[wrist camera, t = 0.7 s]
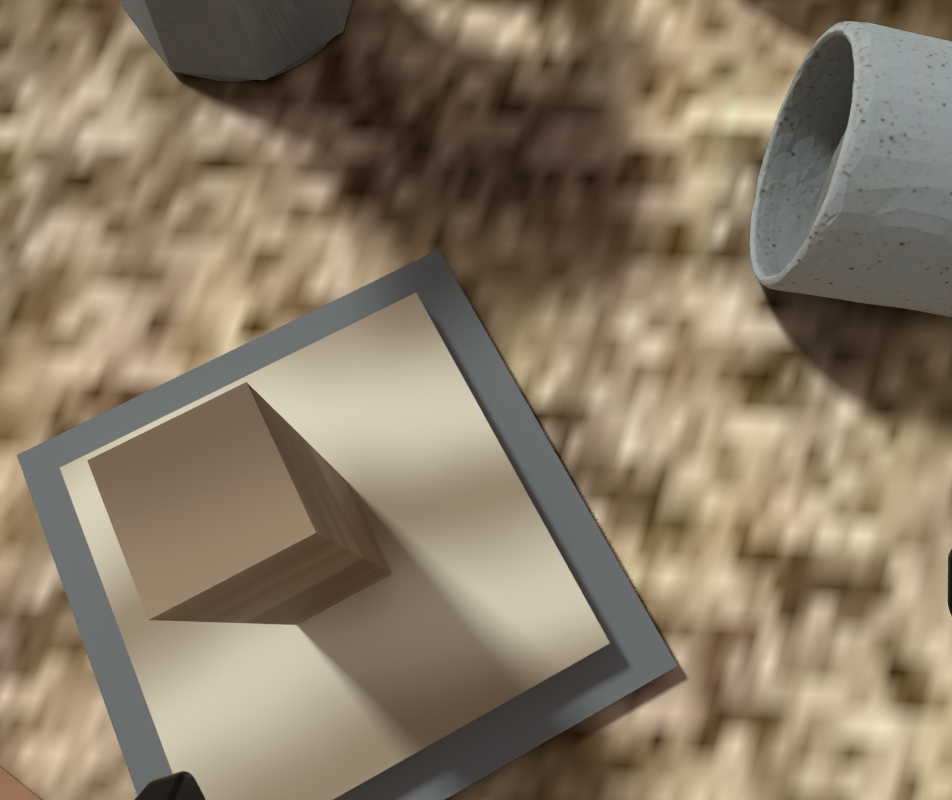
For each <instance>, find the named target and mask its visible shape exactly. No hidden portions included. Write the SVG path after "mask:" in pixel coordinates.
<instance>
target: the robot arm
mask: <svg viewBox="0 0 952 800" xmlns="http://www.w3.org/2000/svg"><path fill="white" fill-rule="evenodd" d="M948 606H949V610H950V613H951V615H952V549H951V551H950V553H949V557H948ZM135 800H206V799H205V797H204V795H203V793H202V791H201V789H200V787H199V785H198V783H197V781H196V779H195V778H194V777H193V775H192V774H191V773H189V772H187V771H181V772H177V773H174V774H170V775H167V776H164V777H160V778H157V779H155V780H152V781H151V782H149V783H148V784H147V785H146V786H145V787H144V789H143V790H142V791H141V792H140V794H139V795H138V796H137V797H136V799H135Z"/></svg>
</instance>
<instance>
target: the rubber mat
mask: <svg viewBox="0 0 952 800" xmlns="http://www.w3.org/2000/svg"><path fill="white" fill-rule="evenodd" d="M414 293H417V295H418V297H419V299H420V300H421V302H422V304H423V306H424V308H425V309H426V311H427V313H428V315H429V317H430V318H431V320H432V322H433V324H434V326H435V328H436V329H437V331H438V333H439V335H440V337H441V338H442V340H443V342H444V344H445V346H446V347H447V349H448V351H449V353H450V355H451V356H452V358H453V360H454V362H455V364H456V366H457V367H458V369H459V371H460V373H461V375H462V376H463V378H464V380H465V382H466V384H467V385H468V387H469V389H470V391H471V393H472V394H473V396H474V398H475V400H476V402H477V403H478V405H479V407H480V409H481V411H482V413H483V414H484V416H485V418H486V420H487V422H488V423H489V425H490V427H491V429H492V431H493V432H494V434H495V436H496V438H497V440H498V441H499V443H500V445H501V447H502V449H503V451H504V452H505V454H506V456H507V458H508V460H509V461H510V463H511V465H512V467H513V469H514V470H515V472H516V474H517V476H518V478H519V479H520V481H521V483H522V485H523V487H524V489H525V490H526V492H527V494H528V496H529V498H530V499H531V501H532V503H533V505H534V507H535V508H536V510H537V512H538V514H539V516H540V517H541V519H542V521H543V523H544V525H545V526H546V528H547V530H548V532H549V534H550V536H551V537H552V539H553V541H554V543H555V545H556V546H557V548H558V550H559V552H560V554H561V555H562V557H563V559H564V561H565V563H566V564H567V566H568V568H569V570H570V572H571V574H572V575H573V577H574V579H575V581H576V583H577V584H578V586H579V588H580V590H581V592H582V593H583V595H584V597H585V599H586V601H587V602H588V604H589V606H590V608H591V610H592V612H593V613H594V615H595V617H596V619H597V621H598V622H599V624H600V626H601V628H602V630H603V631H604V633H605V635H606V637H607V639H608V640H609V642H610V643H609V644H608V645H606V646H604V647H602V648H601V649H599V650H597V651H595V652H594V653H592V654H590V655H588V656H586V657H585V658H583V659H581V660H579V661H578V662H576V663H574V664H572V665H571V666H569V667H567V668H565V669H563V670H562V671H560V672H558V673H556V674H555V675H553V676H551V677H549V678H548V679H546V680H544V681H542V682H540V683H539V684H537V685H535V686H533V687H532V688H530V689H528V690H526V691H525V692H523V693H521V694H519V695H517V696H516V697H514V698H512V699H510V700H509V701H507V702H505V703H503V704H502V705H500V706H498V707H496V708H494V709H493V710H491V711H489V712H487V713H486V714H484V715H482V716H480V717H478V718H477V719H475V720H473V721H471V722H470V723H468V724H466V725H464V726H463V727H461V728H459V729H457V730H455V731H454V732H452V733H450V734H448V735H447V736H445V737H443V738H441V739H440V740H438V741H436V742H434V743H432V744H431V745H429V746H427V747H425V748H424V749H422V750H420V751H418V752H417V753H415V754H413V755H411V756H409V757H408V758H406V759H404V760H402V761H401V762H399V763H397V764H395V765H394V766H392V767H390V768H388V769H386V770H385V771H383V772H381V773H379V774H378V775H376V776H374V777H372V778H371V779H369V780H367V781H365V782H363V783H362V784H360V785H358V786H356V787H355V788H353V789H351V790H349V791H348V792H346V793H344V794H342V795H340V796H339V797H337V798H335V799H333V800H445V799H447V798H449V797H451V796H452V795H454V794H456V793H457V792H459V791H461V790H463V789H464V788H466V787H468V786H470V785H471V784H473V783H475V782H477V781H478V780H480V779H482V778H484V777H485V776H487V775H489V774H491V773H492V772H494V771H496V770H497V769H499V768H501V767H503V766H504V765H506V764H508V763H510V762H511V761H513V760H515V759H517V758H518V757H520V756H522V755H524V754H525V753H527V752H529V751H530V750H532V749H534V748H536V747H537V746H539V745H541V744H543V743H544V742H546V741H548V740H550V739H551V738H553V737H555V736H557V735H558V734H560V733H562V732H564V731H565V730H567V729H569V728H570V727H572V726H574V725H576V724H577V723H579V722H581V721H583V720H584V719H586V718H588V717H590V716H591V715H593V714H595V713H597V712H598V711H600V710H602V709H604V708H605V707H607V706H609V705H610V704H612V703H614V702H616V701H617V700H619V699H621V698H623V697H624V696H626V695H628V694H630V693H631V692H633V691H635V690H637V689H638V688H640V687H642V686H644V685H645V684H647V683H649V682H650V681H652V680H654V679H656V678H657V677H659V676H661V675H663V674H664V673H666V672H668V671H670V670H671V669H673V668H675V667H677V666H678V665H677V664H676V662H675V660H674V658H673V657H672V655H671V653H670V651H669V650H668V648H667V646H666V644H665V643H664V641H663V639H662V637H661V636H660V634H659V632H658V631H657V629H656V627H655V625H654V624H653V622H652V620H651V618H650V617H649V615H648V613H647V611H646V610H645V608H644V606H643V604H642V603H641V601H640V599H639V597H638V596H637V594H636V592H635V590H634V589H633V587H632V585H631V583H630V582H629V580H628V578H627V576H626V575H625V573H624V571H623V569H622V568H621V566H620V564H619V563H618V561H617V559H616V557H615V556H614V554H613V552H612V550H611V549H610V547H609V545H608V543H607V542H606V540H605V538H604V536H603V535H602V533H601V531H600V529H599V528H598V526H597V524H596V522H595V521H594V519H593V517H592V515H591V514H590V512H589V510H588V508H587V507H586V505H585V503H584V501H583V500H582V498H581V496H580V495H579V493H578V491H577V489H576V488H575V486H574V484H573V482H572V481H571V479H570V477H569V475H568V474H567V472H566V470H565V468H564V467H563V465H562V463H561V461H560V460H559V458H558V456H557V454H556V453H555V451H554V449H553V447H552V446H551V444H550V442H549V440H548V439H547V437H546V435H545V433H544V432H543V430H542V428H541V427H540V425H539V423H538V421H537V420H536V418H535V416H534V414H533V413H532V411H531V409H530V407H529V406H528V404H527V402H526V400H525V399H524V397H523V395H522V393H521V392H520V390H519V388H518V386H517V385H516V383H515V381H514V379H513V378H512V376H511V374H510V372H509V371H508V369H507V367H506V365H505V364H504V362H503V360H502V358H501V357H500V355H499V353H498V352H497V350H496V348H495V346H494V345H493V343H492V341H491V339H490V338H489V336H488V334H487V332H486V331H485V329H484V327H483V325H482V324H481V322H480V320H479V318H478V317H477V315H476V313H475V311H474V310H473V308H472V306H471V304H470V303H469V301H468V299H467V297H466V296H465V294H464V292H463V290H462V289H461V287H460V285H459V284H458V282H457V280H456V278H455V277H454V275H453V273H452V271H451V270H450V268H449V266H448V264H447V263H446V261H445V259H444V257H443V256H442V254H441V252H440V250H438V251H436V252H434V253H431V254H429V255H427V256H425V257H423V258H421V259H419V260H417V261H415V262H413V263H411V264H409V265H407V266H405V267H403V268H401V269H399V270H397V271H394V272H392V273H390V274H388V275H386V276H384V277H382V278H380V279H378V280H376V281H374V282H372V283H370V284H368V285H366V286H364V287H362V288H360V289H357V290H355V291H353V292H351V293H349V294H347V295H345V296H343V297H341V298H339V299H337V300H335V301H333V302H331V303H329V304H327V305H325V306H322V307H320V308H318V309H316V310H314V311H312V312H310V313H308V314H306V315H304V316H302V317H300V318H298V319H296V320H294V321H292V322H290V323H288V324H285V325H283V326H281V327H279V328H277V329H275V330H273V331H271V332H269V333H267V334H265V335H263V336H261V337H259V338H257V339H255V340H253V341H251V342H248V343H246V344H244V345H242V346H240V347H238V348H236V349H234V350H232V351H230V352H228V353H226V354H224V355H222V356H220V357H218V358H216V359H214V360H211V361H209V362H207V363H205V364H203V365H201V366H199V367H197V368H195V369H193V370H191V371H189V372H187V373H185V374H183V375H181V376H179V377H176V378H174V379H172V380H170V381H168V382H166V383H164V384H162V385H160V386H158V387H156V388H154V389H152V390H150V391H148V392H146V393H144V394H142V395H139V396H137V397H135V398H133V399H131V400H129V401H127V402H125V403H123V404H121V405H119V406H117V407H115V408H113V409H111V410H109V411H107V412H105V413H102V414H100V415H98V416H96V417H94V418H92V419H90V420H88V421H86V422H84V423H82V424H80V425H78V426H76V427H74V428H72V429H70V430H68V431H65V432H63V433H61V434H59V435H57V436H55V437H53V438H51V439H49V440H47V441H45V442H43V443H41V444H39V445H37V446H35V447H33V448H31V449H28V450H26V451H24V452H22V453H20V454H18V455H17V457H18V459H19V462H20V465H21V468H22V471H23V474H24V476H25V479H26V482H27V485H28V488H29V491H30V493H31V496H32V499H33V502H34V505H35V507H36V510H37V513H38V516H39V519H40V522H41V524H42V527H43V530H44V533H45V536H46V538H47V541H48V544H49V547H50V550H51V553H52V555H53V558H54V561H55V564H56V567H57V570H58V572H59V575H60V578H61V581H62V584H63V586H64V589H65V592H66V595H67V598H68V601H69V603H70V606H71V609H72V612H73V615H74V617H75V620H76V623H77V626H78V629H79V632H80V634H81V637H82V640H83V643H84V646H85V649H86V651H87V654H88V657H89V660H90V663H91V665H92V668H93V671H94V674H95V677H96V680H97V682H98V685H99V688H100V691H101V694H102V697H103V699H104V702H105V705H106V708H107V711H108V713H109V716H110V719H111V722H112V725H113V728H114V730H115V733H116V736H117V739H118V742H119V744H120V747H121V750H122V753H123V756H124V759H125V761H126V764H127V767H128V770H129V773H130V776H131V778H132V781H133V784H134V787H135V790H136V792H137V795H139V794H140V792H141V791H142V790H143V789H144V787H145V786H146V785H147V784H148V783H149V782H151V781H152V780H155V779H157V778H160V777H164V776H167V775H170V774H173V773H172V770H171V768H170V765H169V762H168V760H167V757H166V754H165V751H164V749H163V746H162V743H161V741H160V738H159V735H158V733H157V730H156V727H155V724H154V722H153V719H152V716H151V714H150V711H149V708H148V705H147V703H146V700H145V697H144V695H143V692H142V689H141V687H140V684H139V681H138V678H137V676H136V673H135V670H134V668H133V665H132V662H131V659H130V657H129V654H128V651H127V649H126V646H125V643H124V641H123V638H122V635H121V632H120V630H119V627H118V624H117V622H116V619H115V616H114V614H113V611H112V608H111V605H110V603H109V600H108V597H107V595H106V592H105V589H104V586H103V584H102V581H101V578H100V576H99V573H98V570H97V568H96V565H95V562H94V559H93V557H92V554H91V551H90V549H89V546H88V543H87V541H86V538H85V535H84V532H83V530H82V527H81V524H80V522H79V519H78V516H77V513H76V511H75V508H74V505H73V503H72V500H71V497H70V495H69V492H68V489H67V486H66V484H65V481H64V478H63V476H62V473H61V470H60V467H62V466H64V465H66V464H68V463H70V462H72V461H74V460H76V459H78V458H80V457H83V456H85V455H87V454H89V453H91V452H93V451H95V450H97V449H99V448H101V447H103V446H105V445H107V444H109V443H111V442H113V441H115V440H117V439H119V438H121V437H123V436H125V435H127V434H129V433H131V432H133V431H135V430H137V429H139V428H142V427H144V426H146V425H148V424H150V423H152V422H154V421H156V420H158V419H160V418H162V417H164V416H166V415H168V414H170V413H172V412H174V411H176V410H178V409H180V408H182V407H184V406H186V405H188V404H190V403H192V402H194V401H196V400H199V399H201V398H203V397H205V396H207V395H209V394H211V393H213V392H215V391H217V390H219V389H221V388H223V387H225V386H227V385H229V384H231V383H233V382H235V381H237V380H239V379H241V378H243V377H245V376H247V375H249V374H251V373H253V372H255V371H258V370H260V369H262V368H264V367H266V366H268V365H270V364H272V363H274V362H276V361H278V360H280V359H282V358H284V357H286V356H288V355H290V354H292V353H294V352H296V351H298V350H300V349H302V348H304V347H306V346H308V345H310V344H312V343H315V342H317V341H319V340H321V339H323V338H325V337H327V336H329V335H331V334H333V333H335V332H337V331H339V330H341V329H343V328H345V327H347V326H349V325H351V324H353V323H355V322H357V321H359V320H361V319H363V318H365V317H367V316H369V315H371V314H374V313H376V312H378V311H380V310H382V309H384V308H386V307H388V306H390V305H392V304H394V303H396V302H398V301H400V300H402V299H404V298H406V297H408V296H410V295H412V294H414Z"/></svg>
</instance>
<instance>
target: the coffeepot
mask: <svg viewBox="0 0 952 800" xmlns="http://www.w3.org/2000/svg"><path fill="white" fill-rule="evenodd" d="M121 2H122V4H123V7H124V10H125V11H126V13H127V14H128V15H129V17H130V18H131V19H132V21H133V22H134V23H135V25H136V26H137V27H138V29H139V30H140V31H141V33H142V34H143V35H144V37H145V38H146V40H147V41H148V42H149V44H150V45H151V46H152V47H153V48H154V49H155V51H156V52H157V53H158V55H159V56H160V57H161V58H162V60H163V61H164V62H165V64H166V65H167V66H168V68H169V69H170V70H171V71H173V72H177V73H182V74H186V75H191V76H195V77H200V78H205V79H210V80H216V81H227V82H244V81H251V80H266V79H269V78H271V77H274V76H276V75H279V74H281V73H284V72H286V71H288V70H290V69H292V68H294V67H296V66H298V65H300V64H302V63H304V62H306V61H307V60H309V59H310V58H311V57H313V56H314V55H315V54H317V53H318V52H319V51H321V50H322V49H323V48H324V47H325V46H326V45H327V44H328V43H329V42H330V41H331V40H332V39H333V38H334V37H335V36H337V35H338V34H340V33H342V32H343V31H344V27H345V24H346V20H347V17H348V14H349V11H350V8H351V6H352V3H353V0H121Z"/></svg>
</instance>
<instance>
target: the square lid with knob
mask: <svg viewBox="0 0 952 800" xmlns="http://www.w3.org/2000/svg"><path fill="white" fill-rule="evenodd" d="M60 470H61V473H62V476H63V478H64V481H65V484H66V486H67V489H68V492H69V495H70V497H71V500H72V503H73V505H74V508H75V511H76V513H77V516H78V519H79V522H80V524H81V527H82V530H83V532H84V535H85V538H86V541H87V543H88V546H89V549H90V551H91V554H92V557H93V559H94V562H95V565H96V568H97V570H98V573H99V576H100V578H101V581H102V584H103V586H104V589H105V592H106V595H107V597H108V600H109V603H110V605H111V608H112V611H113V614H114V616H115V619H116V622H117V624H118V627H119V630H120V632H121V635H122V638H123V641H124V643H125V646H126V649H127V651H128V654H129V657H130V659H131V662H132V665H133V668H134V670H135V673H136V676H137V678H138V681H139V684H140V687H141V689H142V692H143V695H144V697H145V700H146V703H147V705H148V708H149V711H150V714H151V716H152V719H153V722H154V724H155V727H156V730H157V733H158V735H159V738H160V741H161V743H162V746H163V749H164V751H165V754H166V757H167V760H168V762H169V765H170V768H171V770H172V773H173V774H174V773H177V772H181V771H187V772H189V773H191V774H192V775H193V777H194V778H195V779H196V781H197V783H198V785H199V787H200V789H201V791H202V793H203V795H204V797H205V799H206V800H333V799H335V798H337V797H339V796H340V795H342V794H344V793H346V792H348V791H349V790H351V789H353V788H355V787H356V786H358V785H360V784H362V783H363V782H365V781H367V780H369V779H371V778H372V777H374V776H376V775H378V774H379V773H381V772H383V771H385V770H386V769H388V768H390V767H392V766H394V765H395V764H397V763H399V762H401V761H402V760H404V759H406V758H408V757H409V756H411V755H413V754H415V753H417V752H418V751H420V750H422V749H424V748H425V747H427V746H429V745H431V744H432V743H434V742H436V741H438V740H440V739H441V738H443V737H445V736H447V735H448V734H450V733H452V732H454V731H455V730H457V729H459V728H461V727H463V726H464V725H466V724H468V723H470V722H471V721H473V720H475V719H477V718H478V717H480V716H482V715H484V714H486V713H487V712H489V711H491V710H493V709H494V708H496V707H498V706H500V705H502V704H503V703H505V702H507V701H509V700H510V699H512V698H514V697H516V696H517V695H519V694H521V693H523V692H525V691H526V690H528V689H530V688H532V687H533V686H535V685H537V684H539V683H540V682H542V681H544V680H546V679H548V678H549V677H551V676H553V675H555V674H556V673H558V672H560V671H562V670H563V669H565V668H567V667H569V666H571V665H572V664H574V663H576V662H578V661H579V660H581V659H583V658H585V657H586V656H588V655H590V654H592V653H594V652H595V651H597V650H599V649H601V648H602V647H604V646H606V645H608V644H609V643H610V642H609V640H608V639H607V637H606V635H605V633H604V631H603V630H602V628H601V626H600V624H599V622H598V621H597V619H596V617H595V615H594V613H593V612H592V610H591V608H590V606H589V604H588V602H587V601H586V599H585V597H584V595H583V593H582V592H581V590H580V588H579V586H578V584H577V583H576V581H575V579H574V577H573V575H572V574H571V572H570V570H569V568H568V566H567V564H566V563H565V561H564V559H563V557H562V555H561V554H560V552H559V550H558V548H557V546H556V545H555V543H554V541H553V539H552V537H551V536H550V534H549V532H548V530H547V528H546V526H545V525H544V523H543V521H542V519H541V517H540V516H539V514H538V512H537V510H536V508H535V507H534V505H533V503H532V501H531V499H530V498H529V496H528V494H527V492H526V490H525V489H524V487H523V485H522V483H521V481H520V479H519V478H518V476H517V474H516V472H515V470H514V469H513V467H512V465H511V463H510V461H509V460H508V458H507V456H506V454H505V452H504V451H503V449H502V447H501V445H500V443H499V441H498V440H497V438H496V436H495V434H494V432H493V431H492V429H491V427H490V425H489V423H488V422H487V420H486V418H485V416H484V414H483V413H482V411H481V409H480V407H479V405H478V403H477V402H476V400H475V398H474V396H473V394H472V393H471V391H470V389H469V387H468V385H467V384H466V382H465V380H464V378H463V376H462V375H461V373H460V371H459V369H458V367H457V366H456V364H455V362H454V360H453V358H452V356H451V355H450V353H449V351H448V349H447V347H446V346H445V344H444V342H443V340H442V338H441V337H440V335H439V333H438V331H437V329H436V328H435V326H434V324H433V322H432V320H431V318H430V317H429V315H428V313H427V311H426V309H425V308H424V306H423V304H422V302H421V300H420V299H419V297H418V295H417V293H414V294H412V295H410V296H408V297H406V298H404V299H402V300H400V301H398V302H396V303H394V304H392V305H390V306H388V307H386V308H384V309H382V310H380V311H378V312H376V313H374V314H371V315H369V316H367V317H365V318H363V319H361V320H359V321H357V322H355V323H353V324H351V325H349V326H347V327H345V328H343V329H341V330H339V331H337V332H335V333H333V334H331V335H329V336H327V337H325V338H323V339H321V340H319V341H317V342H315V343H312V344H310V345H308V346H306V347H304V348H302V349H300V350H298V351H296V352H294V353H292V354H290V355H288V356H286V357H284V358H282V359H280V360H278V361H276V362H274V363H272V364H270V365H268V366H266V367H264V368H262V369H260V370H258V371H255V372H253V373H251V374H249V375H247V376H245V377H243V378H241V379H239V380H237V381H235V382H233V383H231V384H229V385H227V386H225V387H223V388H221V389H219V390H217V391H215V392H213V393H211V394H209V395H207V396H205V397H203V398H201V399H199V400H196V401H194V402H192V403H190V404H188V405H186V406H184V407H182V408H180V409H178V410H176V411H174V412H172V413H170V414H168V415H166V416H164V417H162V418H160V419H158V420H156V421H154V422H152V423H150V424H148V425H146V426H144V427H142V428H139V429H137V430H135V431H133V432H131V433H129V434H127V435H125V436H123V437H121V438H119V439H117V440H115V441H113V442H111V443H109V444H107V445H105V446H103V447H101V448H99V449H97V450H95V451H93V452H91V453H89V454H87V455H85V456H83V457H80V458H78V459H76V460H74V461H72V462H70V463H68V464H66V465H64V466H62V467H60Z"/></svg>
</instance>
